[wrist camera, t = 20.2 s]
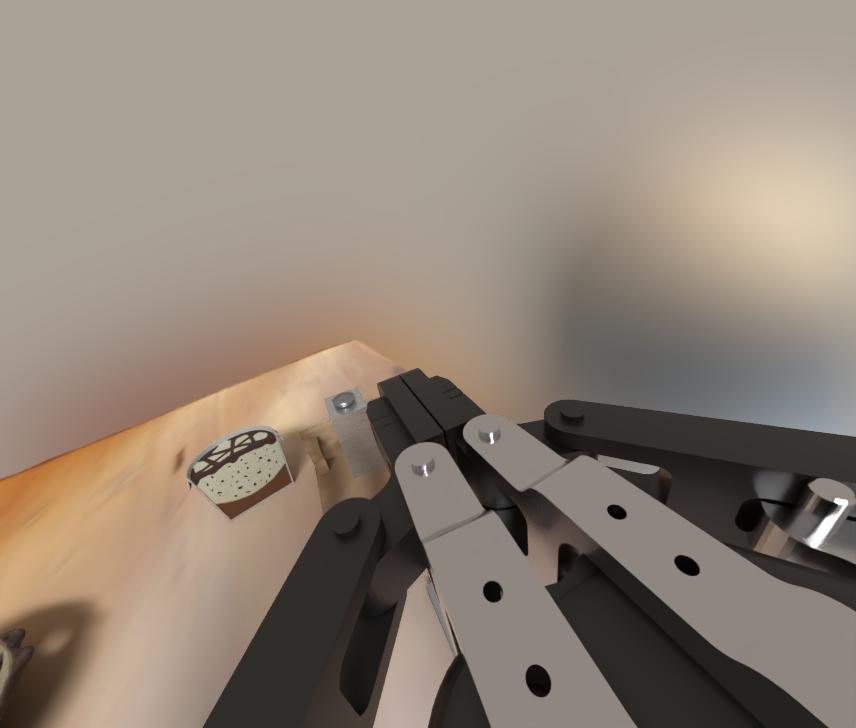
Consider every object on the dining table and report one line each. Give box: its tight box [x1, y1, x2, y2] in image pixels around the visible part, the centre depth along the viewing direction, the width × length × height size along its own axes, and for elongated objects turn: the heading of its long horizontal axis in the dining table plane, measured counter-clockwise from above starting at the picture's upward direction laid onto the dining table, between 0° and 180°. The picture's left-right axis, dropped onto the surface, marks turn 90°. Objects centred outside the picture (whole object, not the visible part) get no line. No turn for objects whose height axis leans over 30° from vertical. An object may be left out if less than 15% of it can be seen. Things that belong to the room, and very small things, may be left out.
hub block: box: [324, 387, 386, 479], centre depth 47 cm, size 5×6×12 cm
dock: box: [301, 405, 390, 514], centre depth 45 cm, size 15×19×7 cm
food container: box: [186, 425, 294, 522], centre depth 48 cm, size 12×6×10 cm, turn 129°
